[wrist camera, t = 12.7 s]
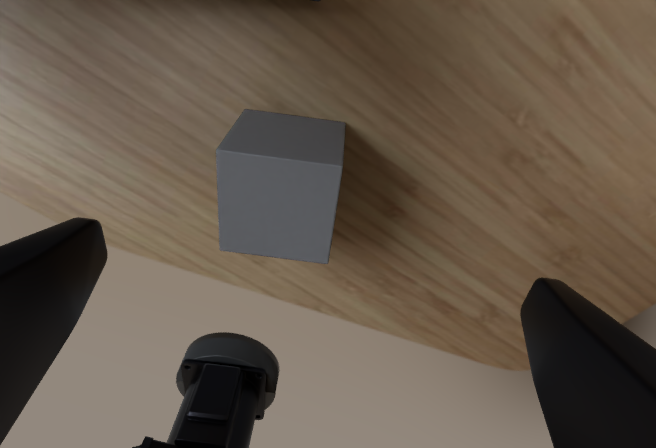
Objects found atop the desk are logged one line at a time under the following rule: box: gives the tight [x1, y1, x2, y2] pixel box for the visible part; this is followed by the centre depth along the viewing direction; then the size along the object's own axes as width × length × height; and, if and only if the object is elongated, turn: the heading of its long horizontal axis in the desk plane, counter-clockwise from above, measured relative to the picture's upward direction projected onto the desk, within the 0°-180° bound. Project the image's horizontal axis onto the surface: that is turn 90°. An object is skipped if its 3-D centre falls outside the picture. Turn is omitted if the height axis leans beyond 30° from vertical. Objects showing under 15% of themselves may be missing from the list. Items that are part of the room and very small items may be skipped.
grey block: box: [216, 109, 346, 264], centre depth 19 cm, size 5×5×5 cm
